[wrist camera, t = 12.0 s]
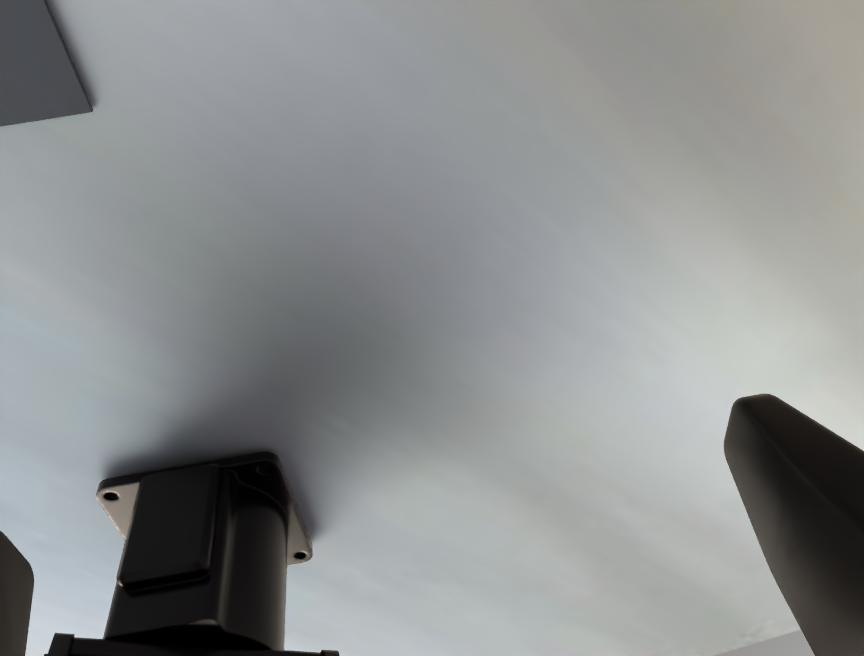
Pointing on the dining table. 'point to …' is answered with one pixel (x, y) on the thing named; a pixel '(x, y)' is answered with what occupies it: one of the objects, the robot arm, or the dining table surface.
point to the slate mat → (35, 66)
